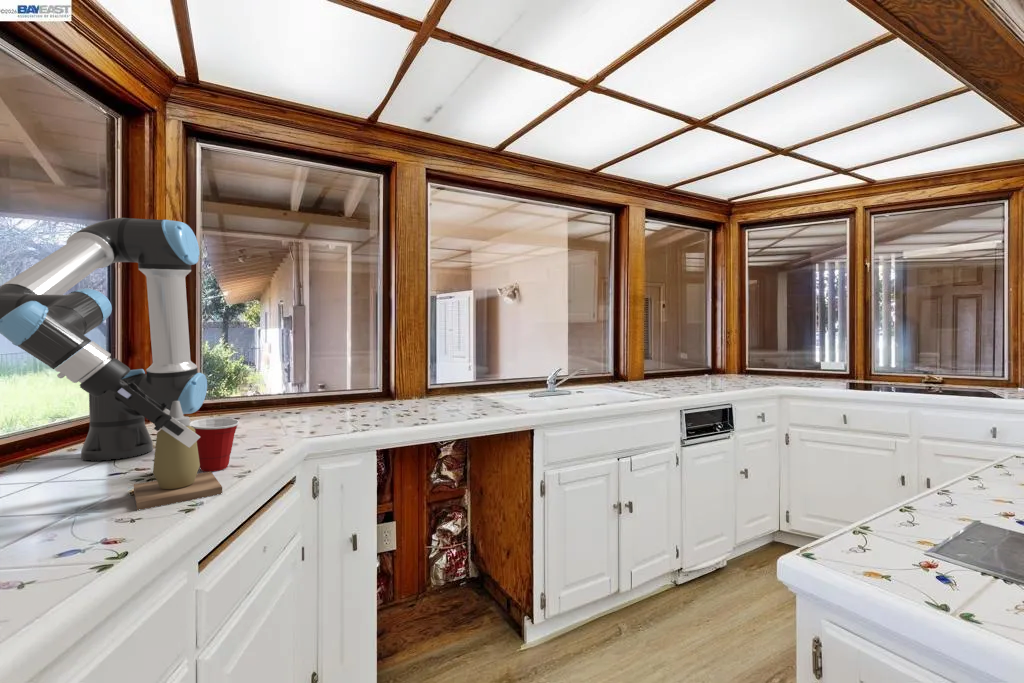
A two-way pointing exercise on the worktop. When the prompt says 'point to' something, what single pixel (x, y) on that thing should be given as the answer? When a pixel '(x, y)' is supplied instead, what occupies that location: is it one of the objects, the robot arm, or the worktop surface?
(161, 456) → the squeeze bottle
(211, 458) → the plastic cup
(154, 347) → the robot arm
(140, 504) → the walnut board
